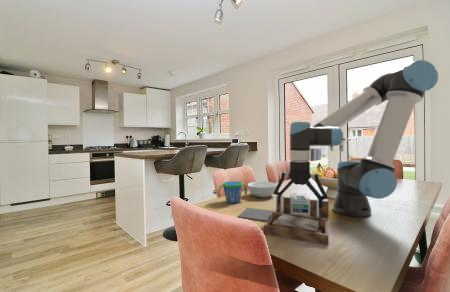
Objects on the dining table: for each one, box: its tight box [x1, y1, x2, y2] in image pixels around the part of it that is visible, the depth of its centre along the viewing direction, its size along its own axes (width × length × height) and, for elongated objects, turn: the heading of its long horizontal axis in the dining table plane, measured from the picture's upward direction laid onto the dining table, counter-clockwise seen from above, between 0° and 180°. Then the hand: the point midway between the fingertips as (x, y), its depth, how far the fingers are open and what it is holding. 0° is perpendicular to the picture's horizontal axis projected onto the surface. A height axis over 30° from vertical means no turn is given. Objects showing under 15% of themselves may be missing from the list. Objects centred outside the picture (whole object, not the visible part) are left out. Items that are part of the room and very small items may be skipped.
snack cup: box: [217, 180, 248, 204], centre depth 122 cm, size 16×10×10 cm
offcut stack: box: [272, 214, 322, 233], centre depth 81 cm, size 16×6×5 cm, turn 59°
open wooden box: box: [263, 195, 330, 246], centre depth 87 cm, size 21×23×8 cm
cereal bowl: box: [247, 181, 278, 199], centre depth 134 cm, size 17×17×7 cm
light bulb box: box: [289, 192, 310, 217], centre depth 91 cm, size 11×7×11 cm, turn 168°
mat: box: [237, 207, 276, 223], centre depth 101 cm, size 13×13×1 cm
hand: (299, 214), depth 91 cm, fingers open, 13 cm apart
